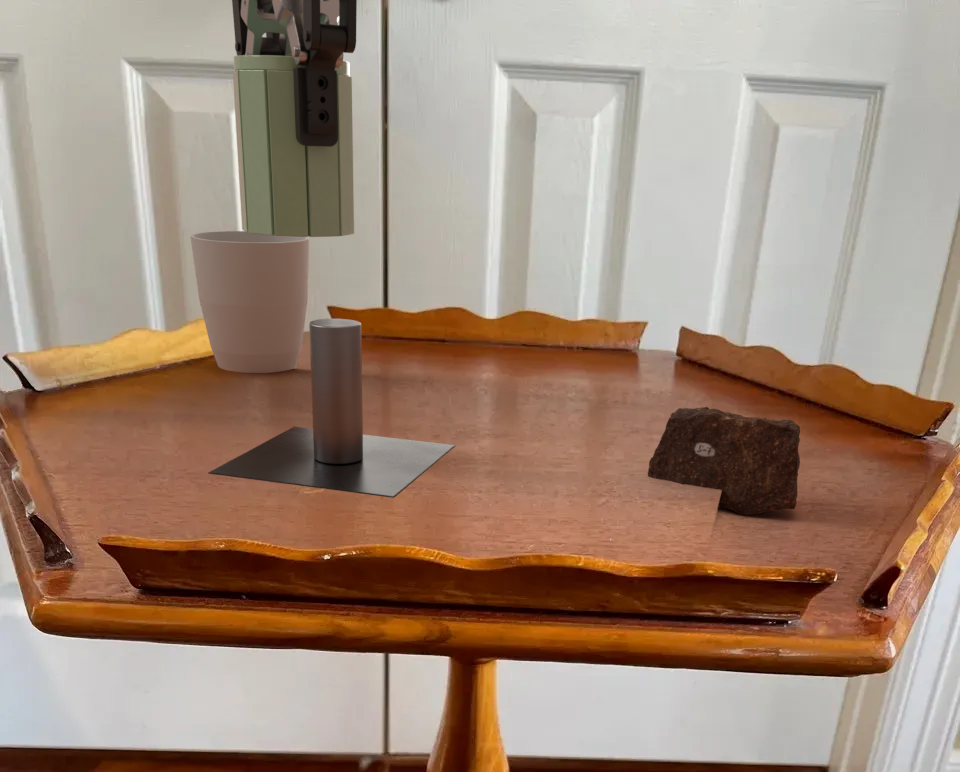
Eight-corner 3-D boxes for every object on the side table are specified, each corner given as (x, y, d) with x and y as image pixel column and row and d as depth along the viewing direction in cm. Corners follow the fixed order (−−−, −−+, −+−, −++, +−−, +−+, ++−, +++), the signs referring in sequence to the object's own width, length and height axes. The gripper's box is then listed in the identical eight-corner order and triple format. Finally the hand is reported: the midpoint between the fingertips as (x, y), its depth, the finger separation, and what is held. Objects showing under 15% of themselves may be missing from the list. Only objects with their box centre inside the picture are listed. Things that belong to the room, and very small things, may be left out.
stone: (642, 499, 54) (652, 404, 52) (657, 484, 57) (668, 393, 54) (790, 524, 51) (808, 425, 49) (799, 507, 54) (817, 412, 52)
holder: (208, 495, 52) (195, 329, 48) (294, 446, 61) (288, 302, 57) (393, 520, 50) (393, 347, 46) (455, 465, 58) (459, 316, 55)
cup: (299, 367, 81) (293, 231, 76) (326, 389, 74) (321, 242, 70) (194, 371, 78) (182, 230, 73) (212, 395, 71) (200, 242, 67)
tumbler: (222, 232, 59) (210, 53, 55) (275, 225, 65) (267, 62, 61) (325, 239, 58) (320, 56, 54) (369, 231, 63) (367, 65, 60)
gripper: (171, -200, 56) (197, 139, 63) (252, -278, 45) (272, 145, 52) (302, -177, 59) (312, 143, 67) (408, -244, 48) (406, 150, 55)
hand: (295, 143), depth 59 cm, fingers closed on tumbler, 6 cm apart
